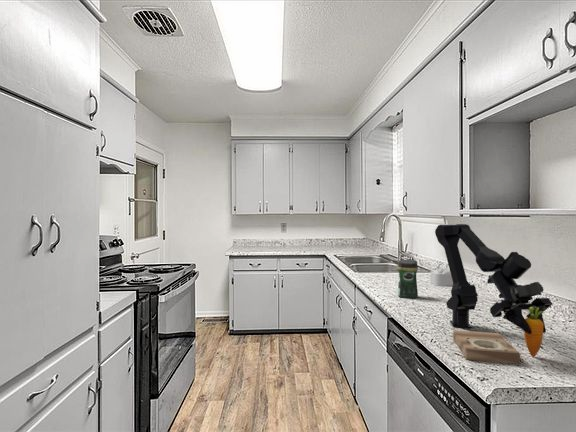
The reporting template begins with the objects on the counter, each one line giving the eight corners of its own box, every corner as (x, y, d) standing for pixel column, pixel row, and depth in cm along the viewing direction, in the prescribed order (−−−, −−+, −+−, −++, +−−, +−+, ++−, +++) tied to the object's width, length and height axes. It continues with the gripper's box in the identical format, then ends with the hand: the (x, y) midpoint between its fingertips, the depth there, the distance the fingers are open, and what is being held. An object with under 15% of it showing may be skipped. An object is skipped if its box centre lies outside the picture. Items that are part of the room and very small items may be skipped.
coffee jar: (416, 295, 193) (417, 259, 193) (418, 299, 186) (419, 261, 185) (396, 294, 195) (397, 258, 195) (398, 298, 188) (398, 260, 187)
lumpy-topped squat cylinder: (428, 283, 228) (429, 268, 227) (450, 283, 228) (450, 268, 228) (435, 286, 217) (435, 271, 217) (458, 286, 217) (458, 271, 217)
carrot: (535, 353, 116) (536, 304, 115) (547, 359, 111) (548, 308, 110) (519, 353, 115) (520, 304, 115) (530, 360, 110) (531, 308, 110)
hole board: (453, 339, 128) (453, 330, 128) (498, 342, 125) (498, 333, 125) (466, 359, 110) (466, 349, 110) (519, 364, 107) (519, 353, 107)
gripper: (497, 273, 114) (528, 321, 104) (547, 271, 119) (582, 316, 108) (478, 294, 122) (505, 340, 111) (525, 291, 126) (555, 335, 116)
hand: (537, 332), depth 111 cm, fingers closed on carrot, 5 cm apart
